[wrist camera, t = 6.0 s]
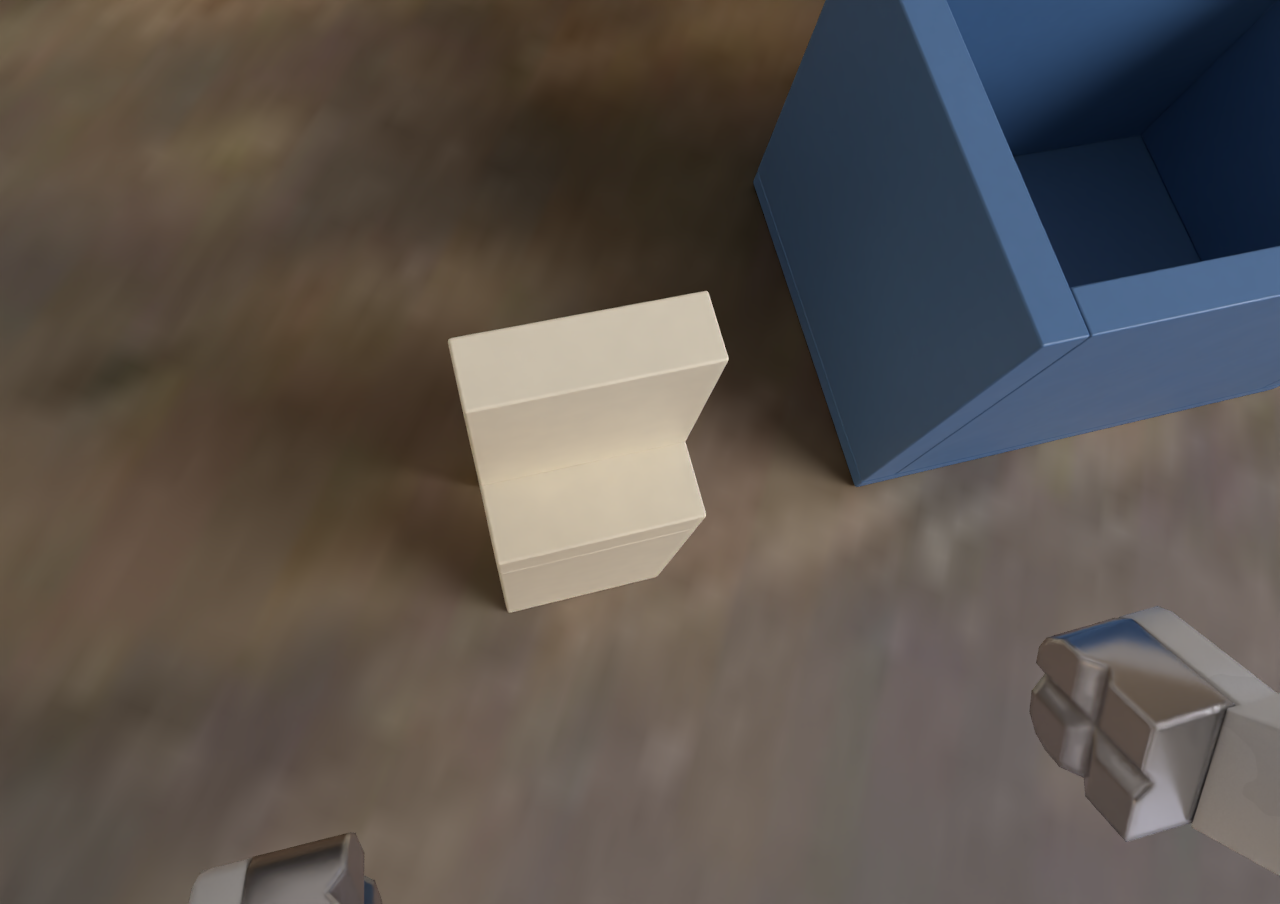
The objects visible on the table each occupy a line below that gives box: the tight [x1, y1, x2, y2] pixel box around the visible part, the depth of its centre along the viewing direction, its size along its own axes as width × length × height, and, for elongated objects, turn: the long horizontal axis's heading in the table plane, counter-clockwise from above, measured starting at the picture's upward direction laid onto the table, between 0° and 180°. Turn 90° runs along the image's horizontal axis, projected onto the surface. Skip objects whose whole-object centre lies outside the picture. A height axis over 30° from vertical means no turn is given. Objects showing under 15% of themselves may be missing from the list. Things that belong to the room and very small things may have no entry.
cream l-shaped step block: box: [448, 291, 729, 613], centre depth 18 cm, size 4×4×11 cm
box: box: [753, 0, 1280, 487], centre depth 23 cm, size 14×10×10 cm
